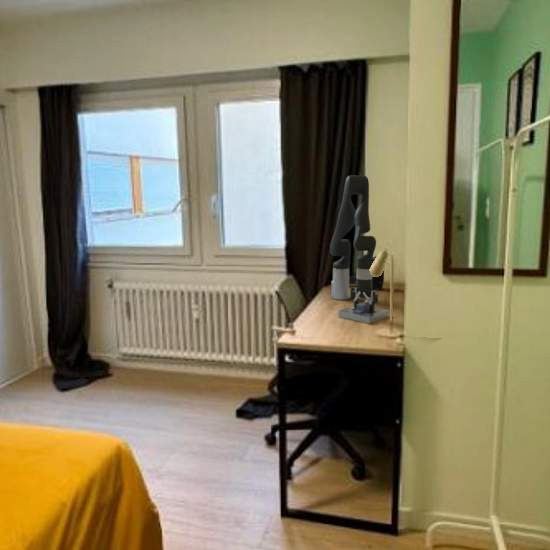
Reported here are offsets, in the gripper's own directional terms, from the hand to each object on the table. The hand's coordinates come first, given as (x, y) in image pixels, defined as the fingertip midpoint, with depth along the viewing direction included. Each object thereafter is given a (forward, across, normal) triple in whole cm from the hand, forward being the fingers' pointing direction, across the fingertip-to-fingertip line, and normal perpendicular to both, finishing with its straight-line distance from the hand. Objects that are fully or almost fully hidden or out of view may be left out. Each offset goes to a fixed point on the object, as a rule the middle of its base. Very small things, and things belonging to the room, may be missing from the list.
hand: (363, 310), depth 243 cm
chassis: (+3, 0, 0) cm, 3 cm away
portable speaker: (+4, +30, -56) cm, 64 cm away
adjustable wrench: (+4, +43, -56) cm, 71 cm away
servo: (+3, 0, 0) cm, 3 cm away
